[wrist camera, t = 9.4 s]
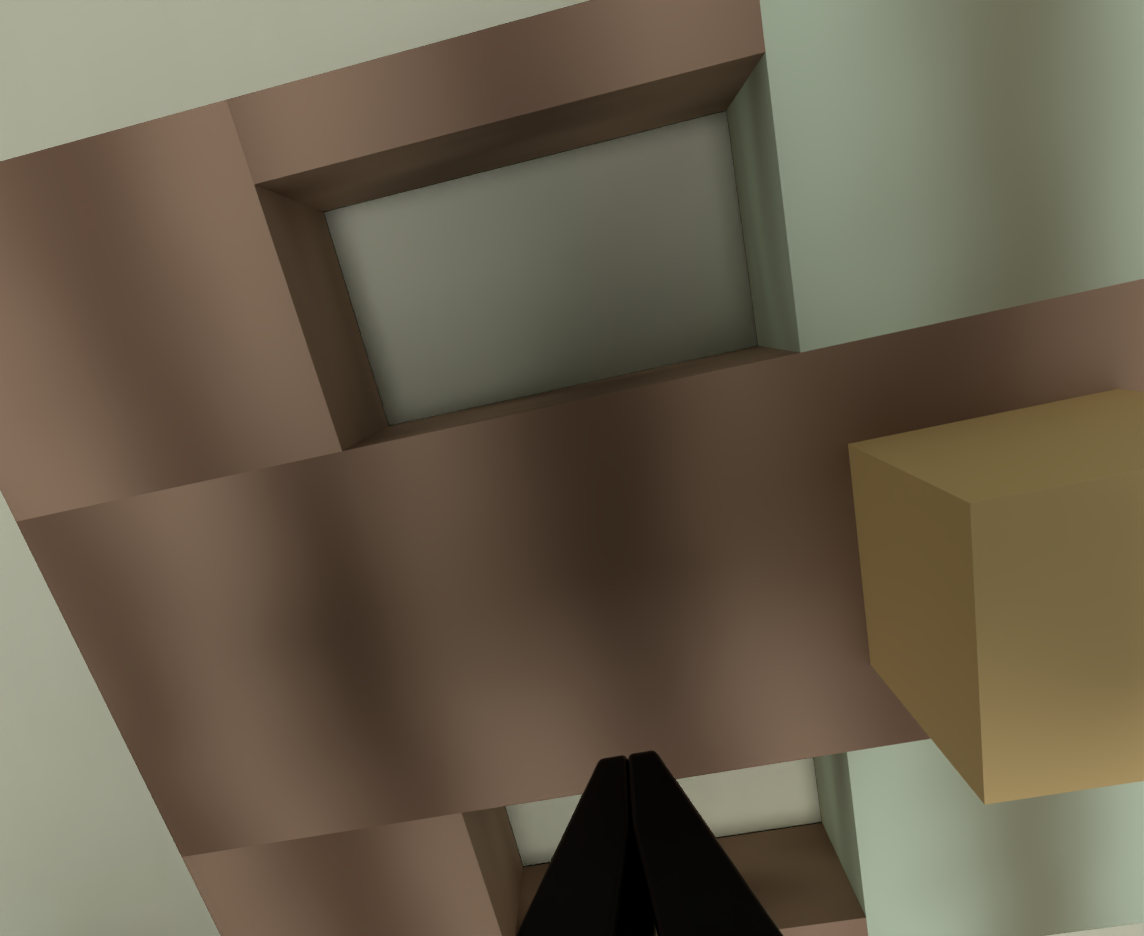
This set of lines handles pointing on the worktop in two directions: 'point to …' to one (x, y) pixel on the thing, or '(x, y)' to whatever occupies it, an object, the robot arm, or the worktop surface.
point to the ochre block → (1013, 590)
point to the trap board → (567, 459)
